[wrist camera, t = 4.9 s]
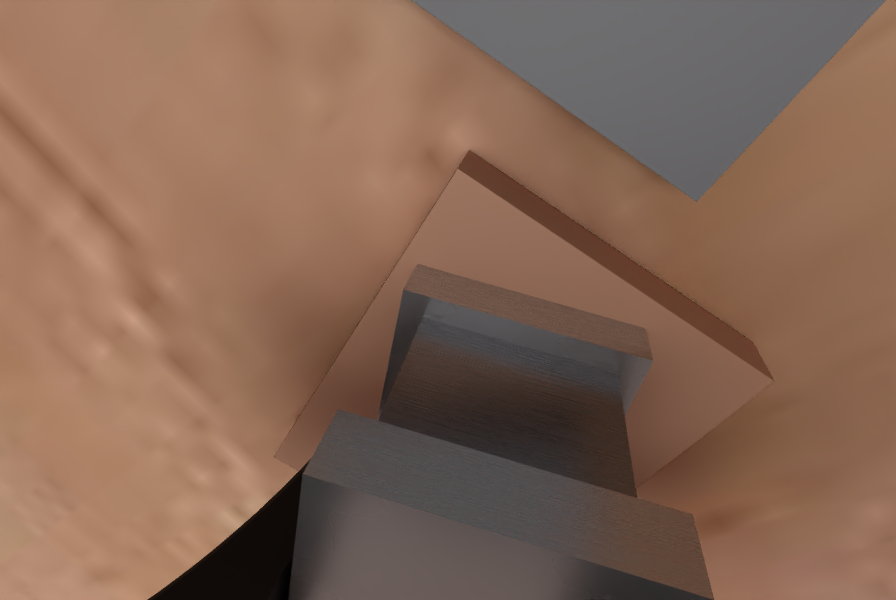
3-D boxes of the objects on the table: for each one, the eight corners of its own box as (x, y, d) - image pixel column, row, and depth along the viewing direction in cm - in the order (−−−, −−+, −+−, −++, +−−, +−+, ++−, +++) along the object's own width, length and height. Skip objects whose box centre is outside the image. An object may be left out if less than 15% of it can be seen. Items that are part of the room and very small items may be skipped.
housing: (645, 328, 11) (713, 599, 6) (544, 533, 15) (535, 815, 10) (417, 263, 12) (302, 474, 6) (371, 481, 15) (273, 728, 10)
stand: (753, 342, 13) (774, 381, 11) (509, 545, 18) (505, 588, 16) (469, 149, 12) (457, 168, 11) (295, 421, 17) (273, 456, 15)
